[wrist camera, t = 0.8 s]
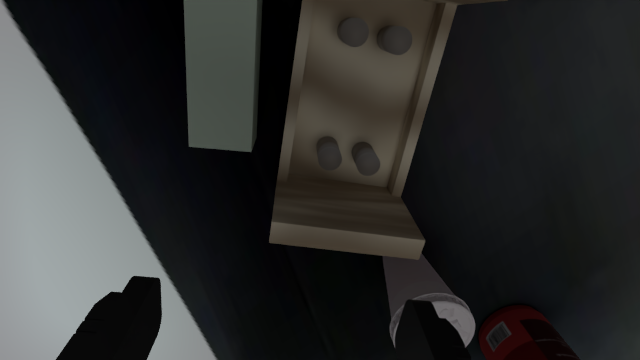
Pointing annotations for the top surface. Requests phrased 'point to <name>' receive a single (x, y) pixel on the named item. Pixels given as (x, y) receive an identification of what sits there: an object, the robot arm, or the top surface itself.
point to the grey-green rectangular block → (222, 72)
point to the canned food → (522, 336)
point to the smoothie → (424, 294)
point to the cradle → (357, 123)
